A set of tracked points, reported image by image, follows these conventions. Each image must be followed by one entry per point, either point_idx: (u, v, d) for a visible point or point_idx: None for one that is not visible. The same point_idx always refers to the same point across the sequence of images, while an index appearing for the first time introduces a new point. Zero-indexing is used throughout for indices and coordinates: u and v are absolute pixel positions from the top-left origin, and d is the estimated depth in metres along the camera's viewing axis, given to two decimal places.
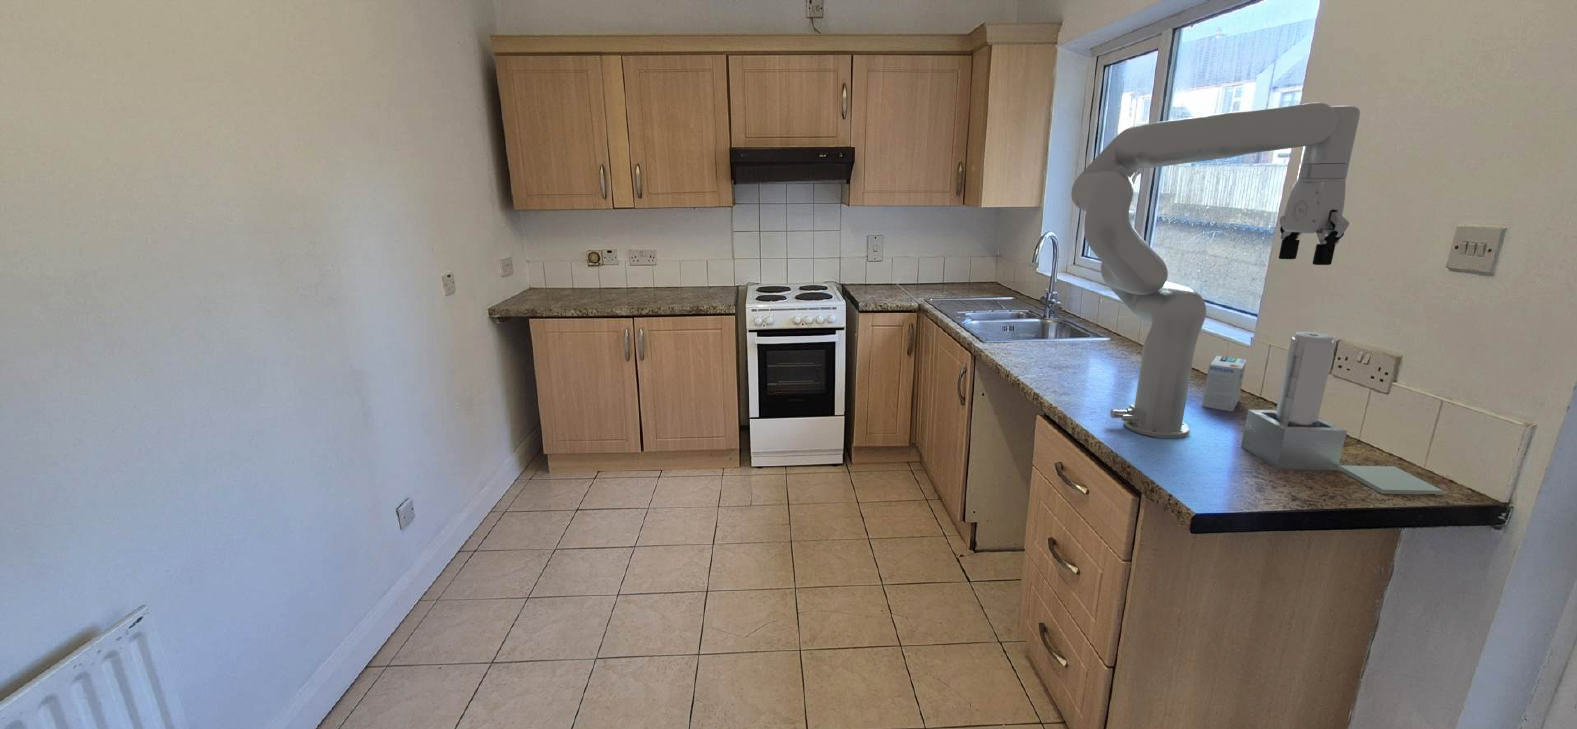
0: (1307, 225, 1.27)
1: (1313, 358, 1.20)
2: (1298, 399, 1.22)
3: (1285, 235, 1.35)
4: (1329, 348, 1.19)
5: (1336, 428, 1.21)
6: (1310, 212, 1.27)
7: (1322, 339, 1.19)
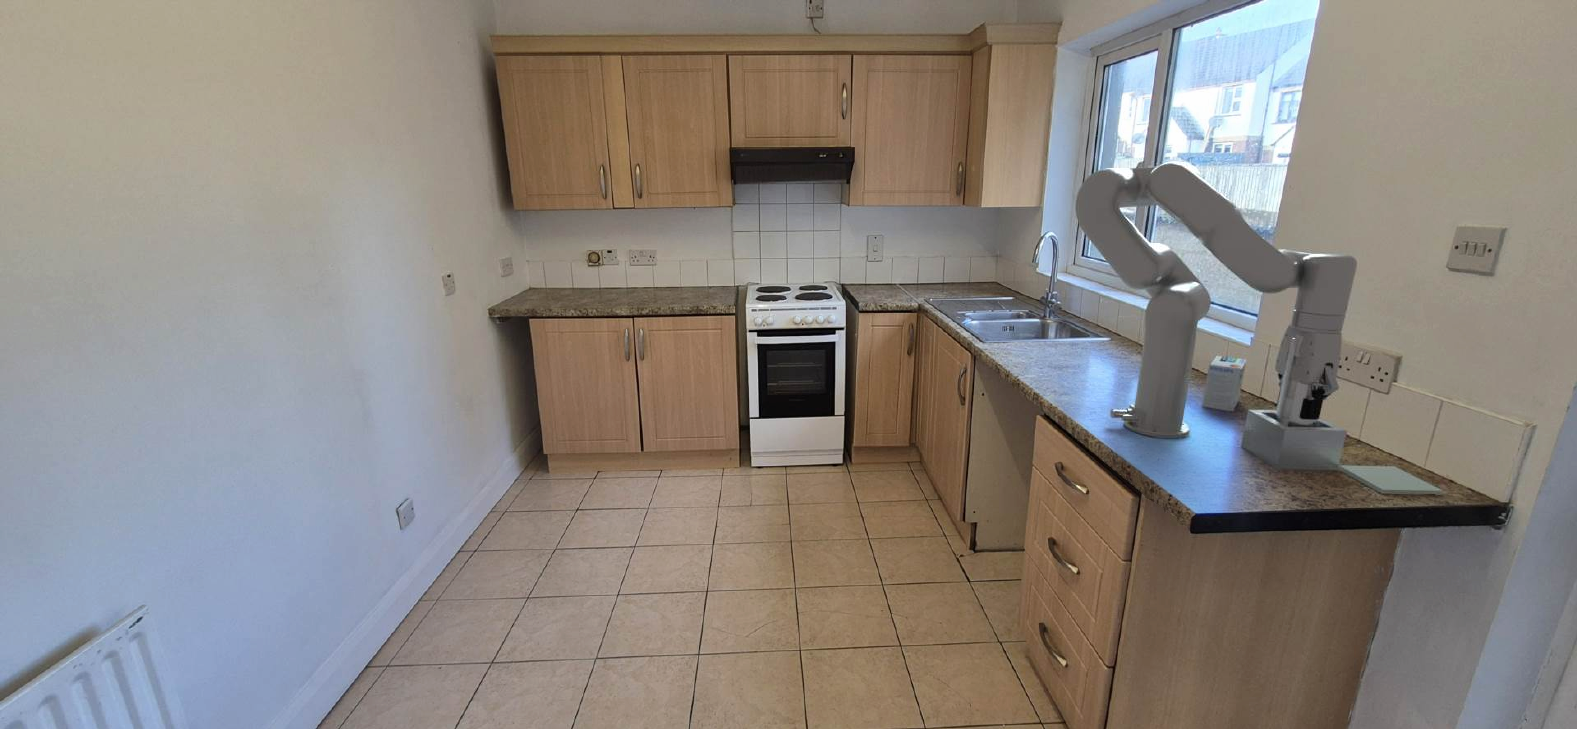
0: (1301, 375, 1.21)
1: None
2: (1298, 399, 1.22)
3: None
4: None
5: (1336, 428, 1.21)
6: (1304, 362, 1.20)
7: None
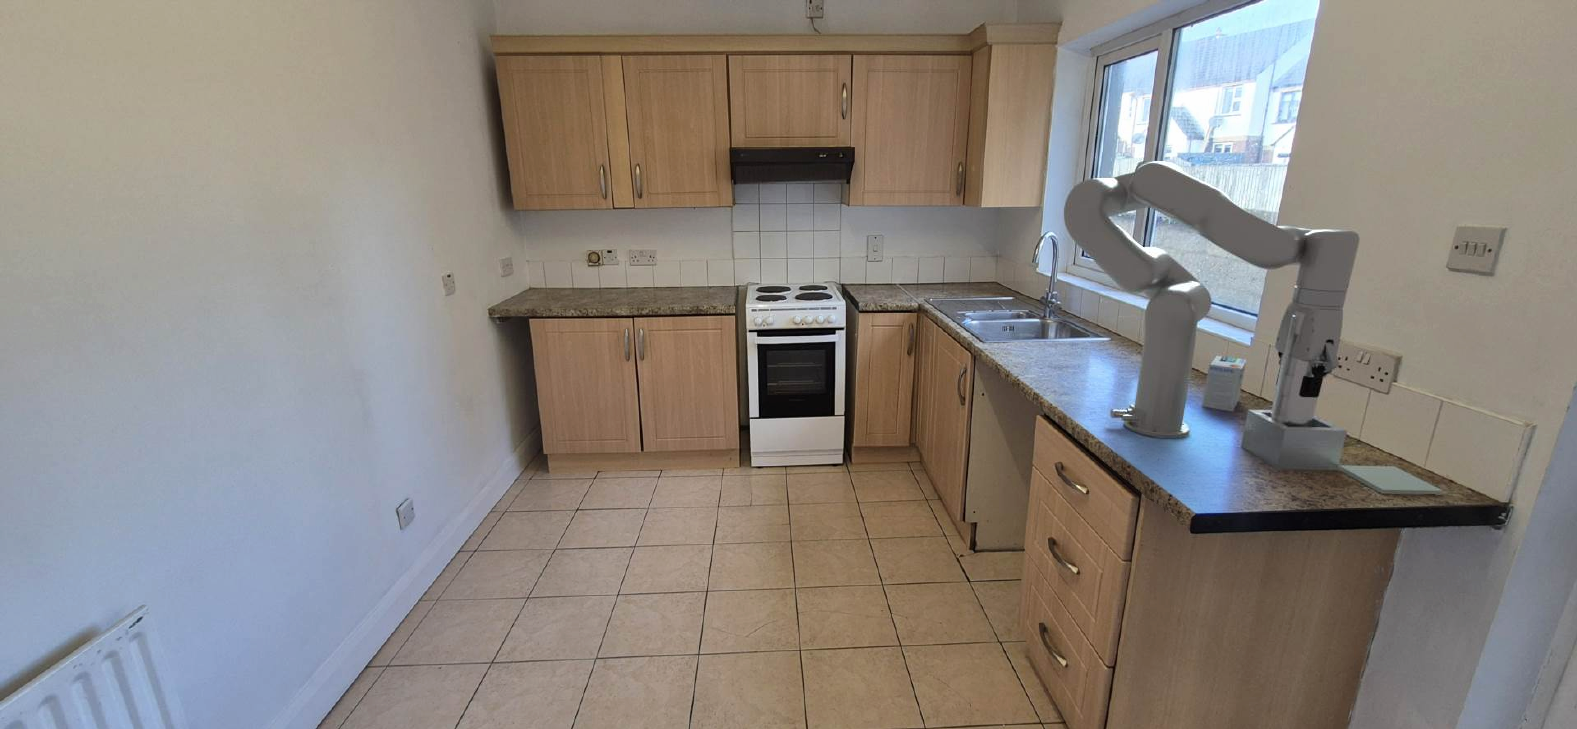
0: (1301, 352, 1.20)
1: None
2: (1298, 377, 1.21)
3: None
4: None
5: (1336, 428, 1.21)
6: (1305, 339, 1.19)
7: None
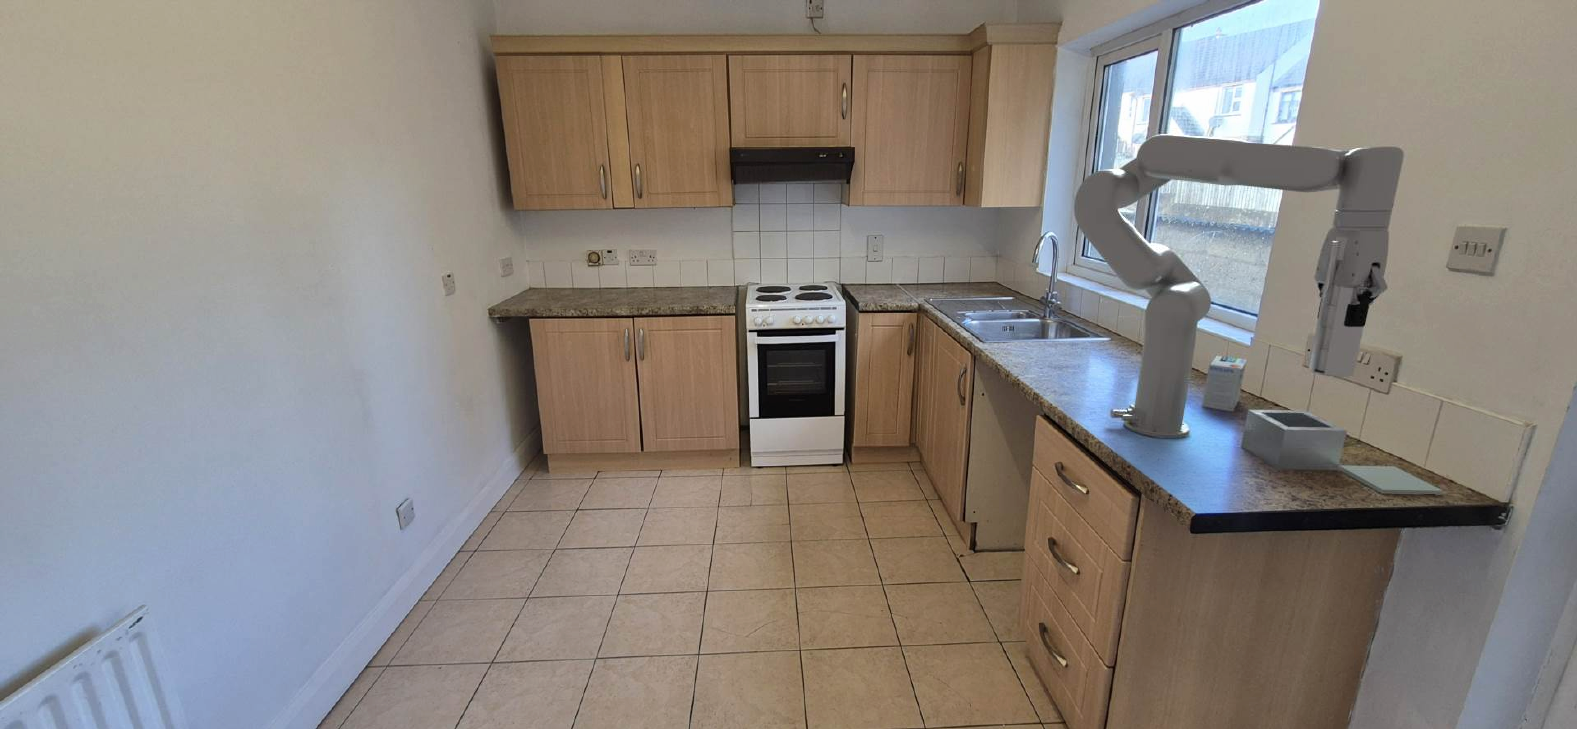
0: (1345, 279, 1.14)
1: None
2: (1342, 305, 1.15)
3: None
4: None
5: (1336, 428, 1.21)
6: (1349, 264, 1.13)
7: None
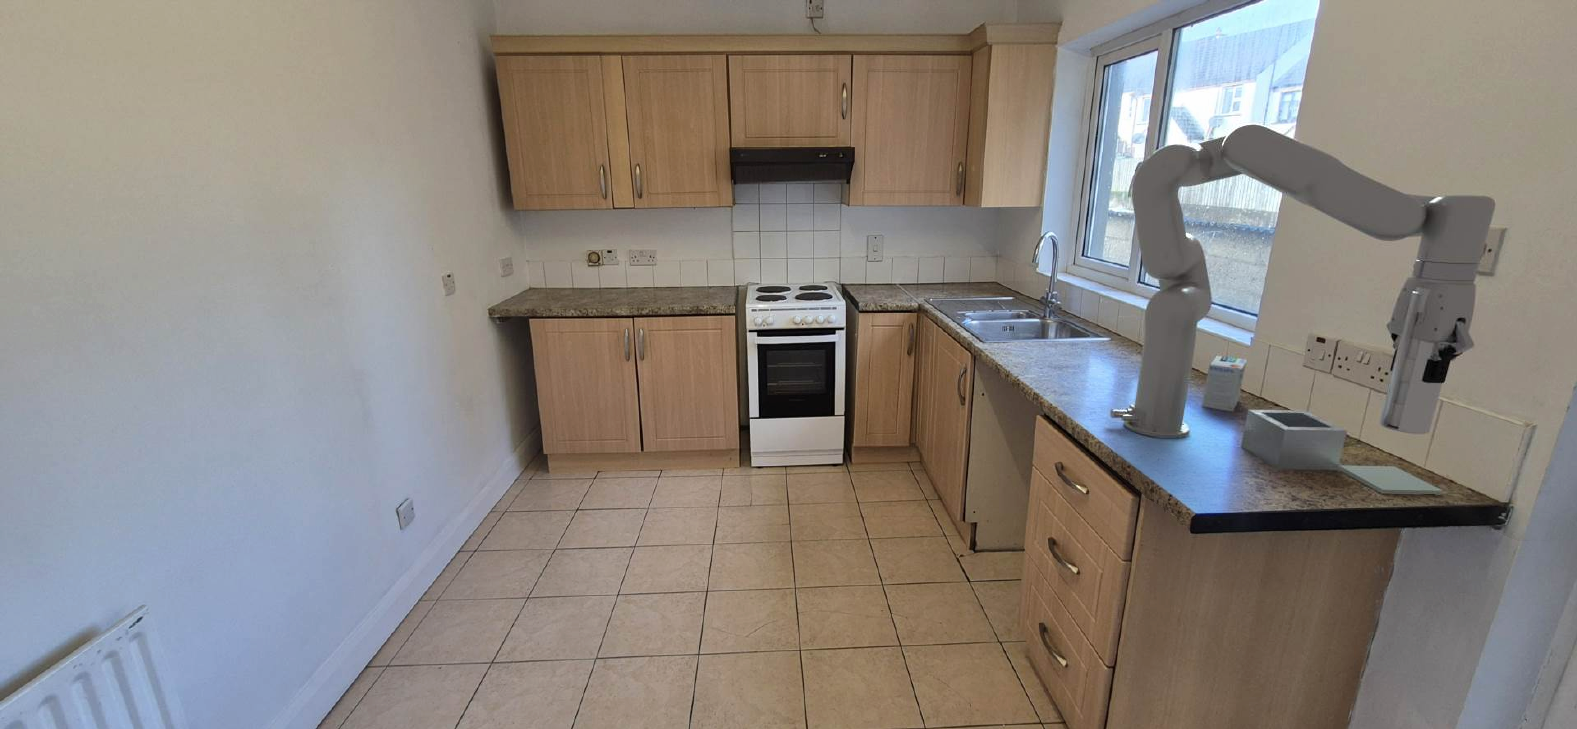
0: (1426, 333, 1.08)
1: None
2: (1421, 360, 1.09)
3: None
4: None
5: (1336, 428, 1.21)
6: (1430, 318, 1.07)
7: None
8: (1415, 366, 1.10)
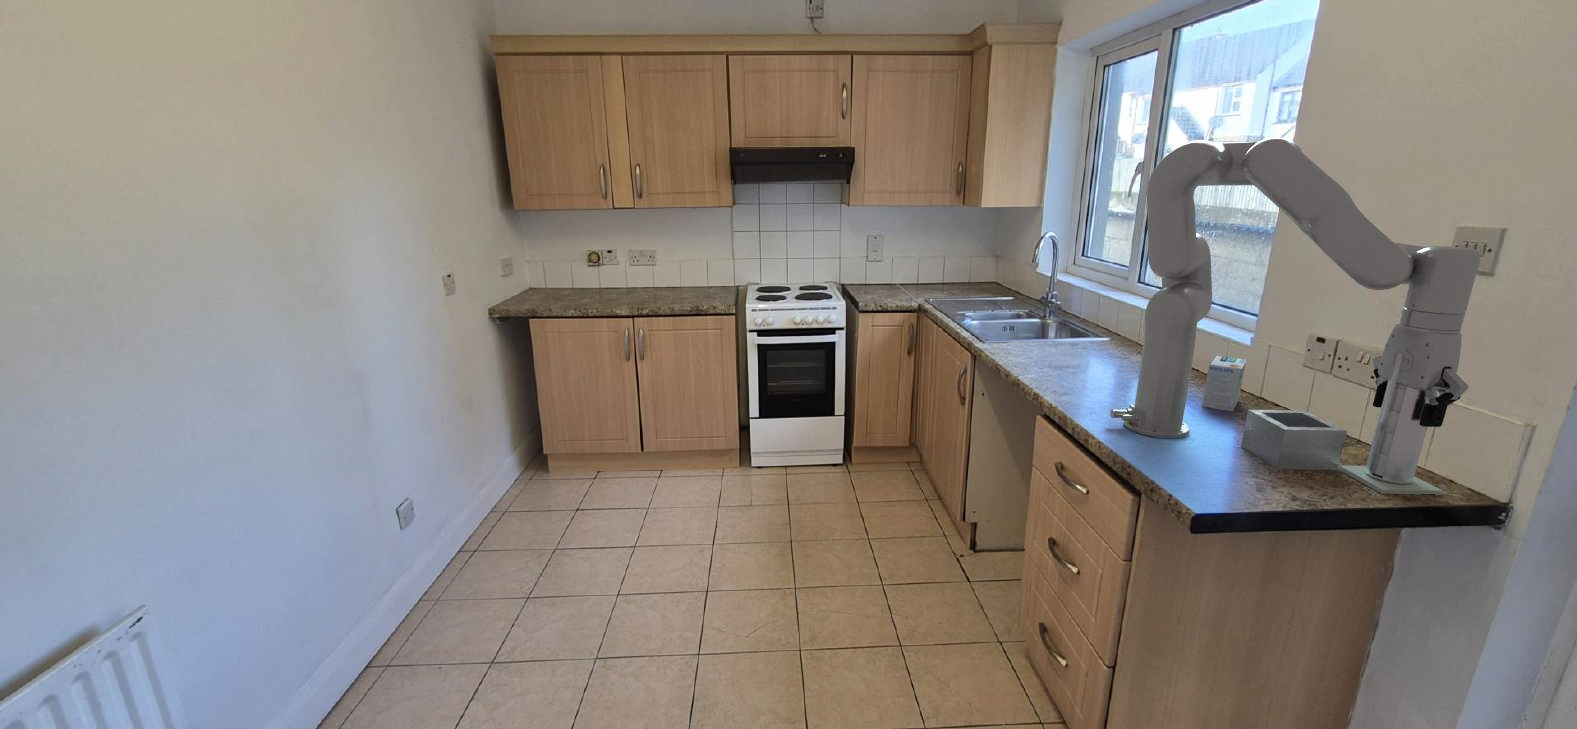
0: (1413, 380, 1.10)
1: None
2: (1406, 412, 1.12)
3: (1381, 381, 1.18)
4: None
5: (1336, 428, 1.21)
6: (1417, 366, 1.09)
7: None
8: (1399, 418, 1.13)
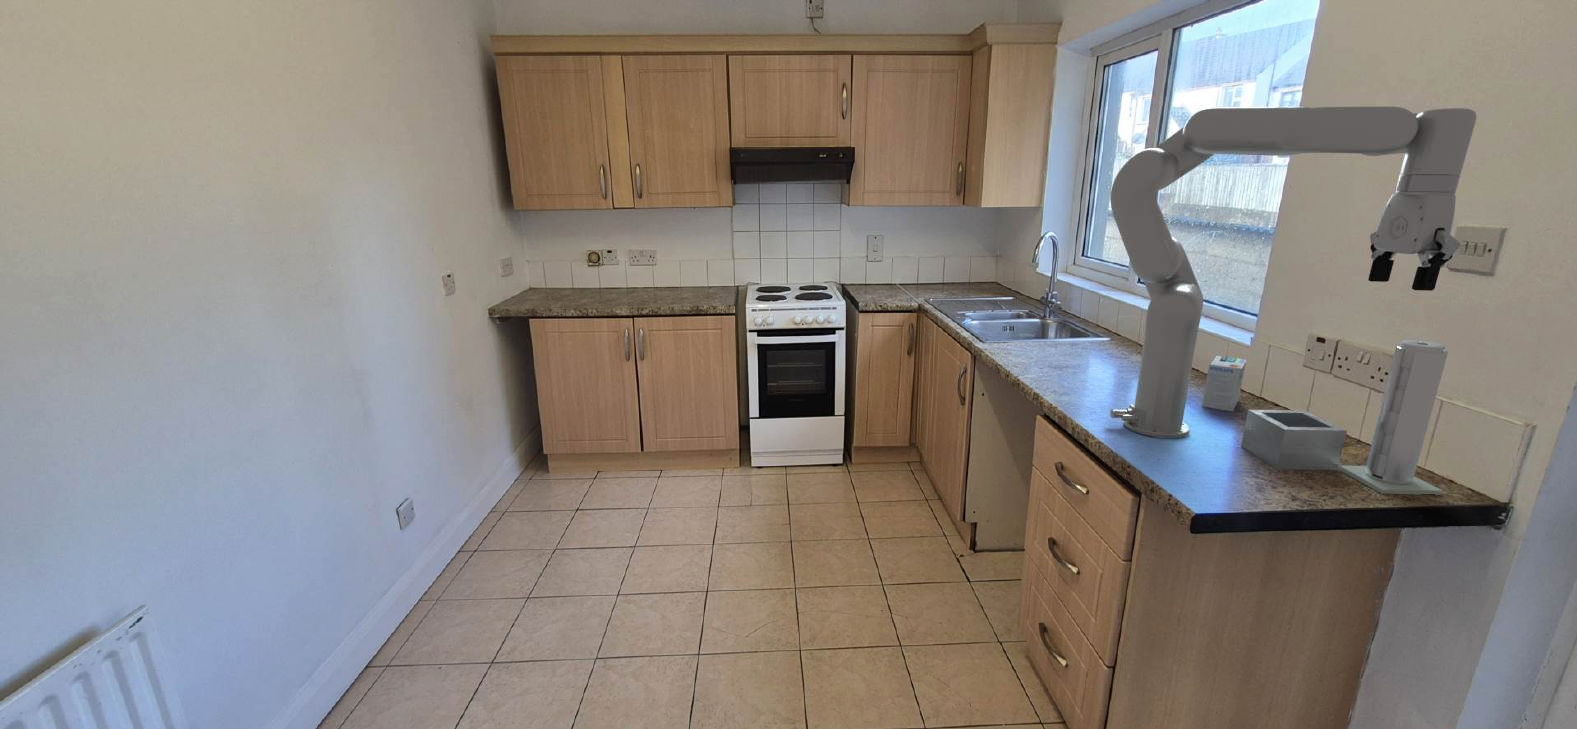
0: (1407, 245, 1.11)
1: (1424, 369, 1.09)
2: (1405, 414, 1.12)
3: (1377, 254, 1.19)
4: (1442, 358, 1.09)
5: (1336, 428, 1.21)
6: (1411, 230, 1.11)
7: (1434, 348, 1.08)
8: (1399, 419, 1.13)
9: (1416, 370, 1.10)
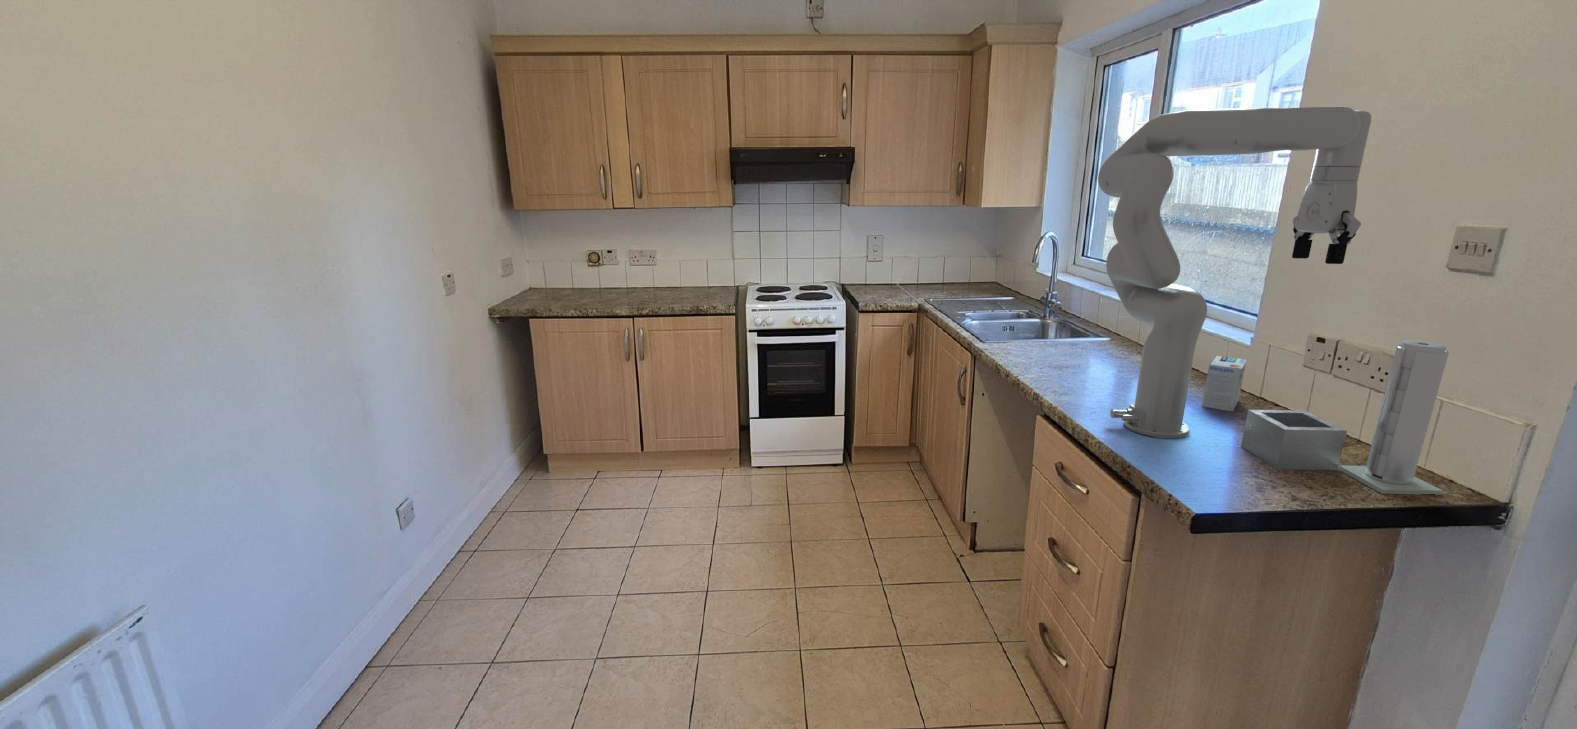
0: (1320, 225, 1.32)
1: (1424, 369, 1.09)
2: (1405, 414, 1.12)
3: (1298, 235, 1.40)
4: (1443, 358, 1.08)
5: (1336, 428, 1.21)
6: (1323, 213, 1.31)
7: (1435, 349, 1.08)
8: (1399, 419, 1.13)
9: (1417, 370, 1.10)
